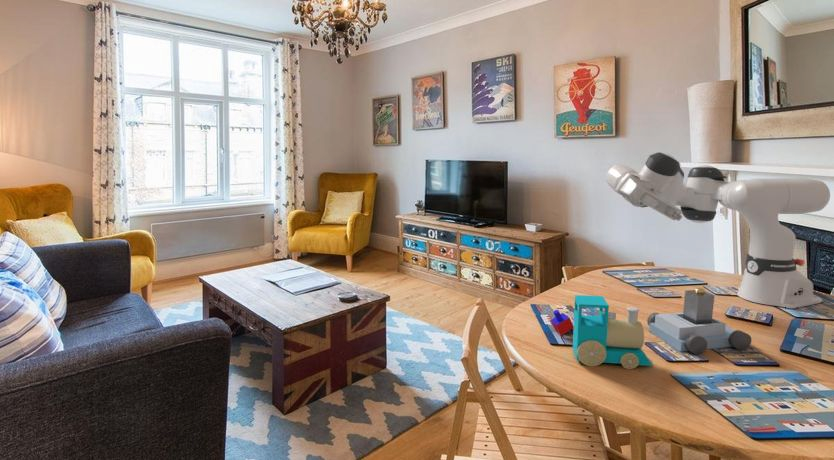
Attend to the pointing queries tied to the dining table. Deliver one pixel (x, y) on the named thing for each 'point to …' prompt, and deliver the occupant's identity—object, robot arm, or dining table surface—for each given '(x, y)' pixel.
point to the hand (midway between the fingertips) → (668, 211)
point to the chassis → (695, 333)
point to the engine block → (698, 306)
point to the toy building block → (562, 323)
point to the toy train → (607, 335)
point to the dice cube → (610, 314)
